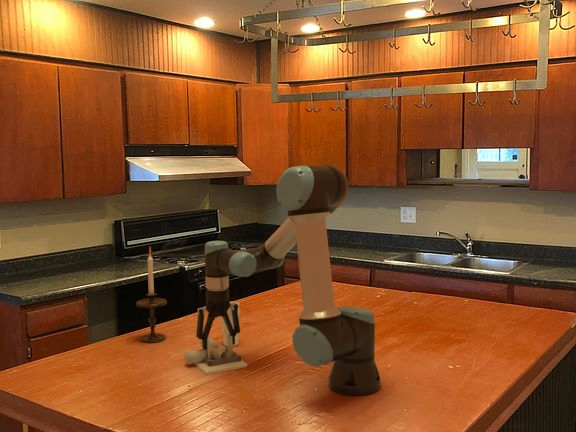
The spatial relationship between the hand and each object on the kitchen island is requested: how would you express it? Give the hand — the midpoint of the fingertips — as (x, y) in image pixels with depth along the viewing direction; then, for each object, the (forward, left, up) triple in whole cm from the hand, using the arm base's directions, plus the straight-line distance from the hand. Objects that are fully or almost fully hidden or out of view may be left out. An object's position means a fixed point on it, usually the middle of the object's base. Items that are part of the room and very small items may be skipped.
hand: (219, 356), depth 199 cm
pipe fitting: (0, 0, -1) cm, 1 cm away
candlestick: (+34, +13, -2) cm, 36 cm away
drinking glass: (+14, -10, -2) cm, 17 cm away
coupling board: (+1, +3, -1) cm, 3 cm away
